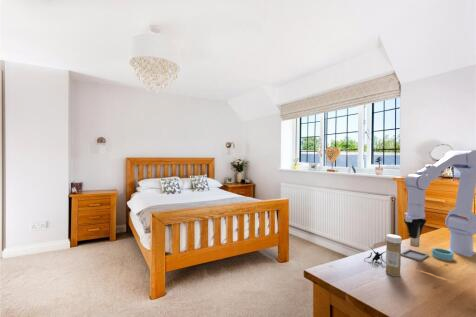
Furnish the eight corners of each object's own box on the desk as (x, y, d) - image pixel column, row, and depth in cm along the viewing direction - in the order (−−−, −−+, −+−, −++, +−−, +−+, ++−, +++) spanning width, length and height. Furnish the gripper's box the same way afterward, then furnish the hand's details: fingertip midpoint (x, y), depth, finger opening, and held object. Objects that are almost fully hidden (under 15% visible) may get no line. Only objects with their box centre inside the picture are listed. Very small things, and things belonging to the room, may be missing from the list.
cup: (435, 253, 105) (435, 246, 105) (455, 259, 100) (455, 252, 100) (429, 257, 101) (429, 250, 101) (449, 263, 96) (450, 255, 96)
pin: (411, 243, 104) (412, 224, 103) (420, 246, 101) (421, 226, 101) (409, 245, 102) (409, 226, 102) (417, 247, 99) (418, 227, 99)
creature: (385, 272, 90) (390, 261, 96) (385, 259, 89) (389, 248, 95) (362, 266, 96) (367, 255, 101) (361, 253, 95) (367, 243, 100)
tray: (409, 251, 107) (409, 249, 107) (428, 257, 101) (428, 254, 101) (399, 256, 102) (400, 253, 102) (420, 262, 96) (420, 259, 96)
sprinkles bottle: (403, 274, 86) (404, 236, 86) (396, 278, 84) (397, 238, 84) (389, 269, 90) (390, 232, 90) (382, 272, 88) (383, 235, 87)
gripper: (411, 200, 109) (410, 231, 109) (397, 204, 100) (396, 237, 100) (431, 203, 103) (430, 235, 103) (417, 207, 94) (416, 242, 95)
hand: (414, 237), depth 101 cm, fingers closed on pin, 3 cm apart
